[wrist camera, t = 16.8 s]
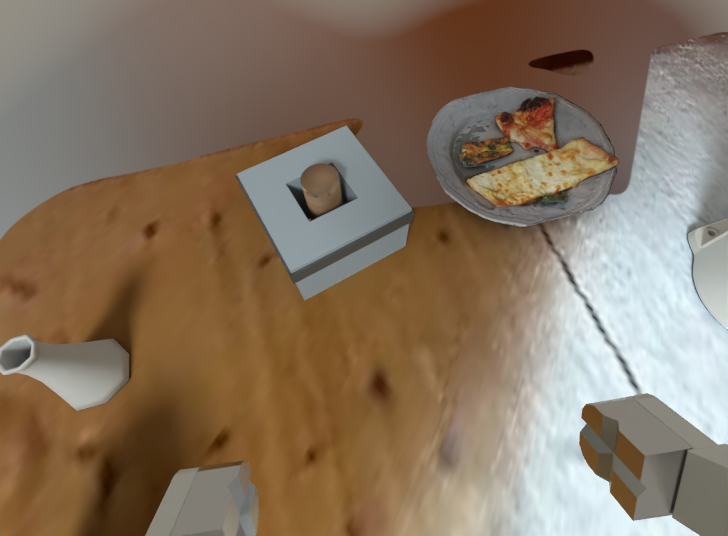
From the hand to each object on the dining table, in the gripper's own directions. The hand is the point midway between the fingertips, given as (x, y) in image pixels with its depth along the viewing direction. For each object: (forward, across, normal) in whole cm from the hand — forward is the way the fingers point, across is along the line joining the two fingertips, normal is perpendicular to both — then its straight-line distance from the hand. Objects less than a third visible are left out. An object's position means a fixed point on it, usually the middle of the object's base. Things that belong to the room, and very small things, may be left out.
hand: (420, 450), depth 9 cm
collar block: (+39, +3, +3) cm, 39 cm away
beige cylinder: (+39, +3, +3) cm, 39 cm away
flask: (+29, +30, +13) cm, 43 cm away
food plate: (+44, -24, -2) cm, 51 cm away
